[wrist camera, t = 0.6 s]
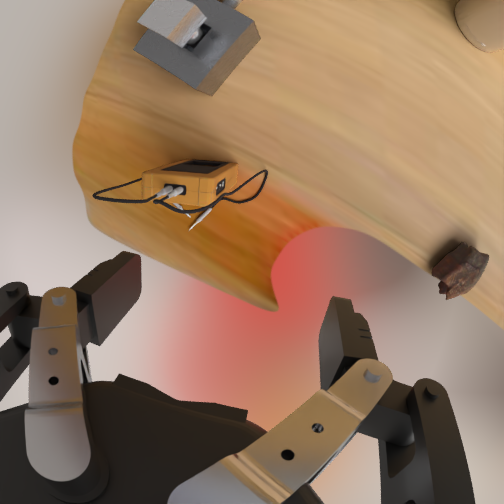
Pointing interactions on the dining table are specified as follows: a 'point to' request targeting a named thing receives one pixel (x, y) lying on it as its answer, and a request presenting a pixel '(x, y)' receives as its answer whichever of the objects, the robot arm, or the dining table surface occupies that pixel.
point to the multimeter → (187, 185)
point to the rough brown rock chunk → (460, 270)
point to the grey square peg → (175, 21)
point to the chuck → (205, 46)
